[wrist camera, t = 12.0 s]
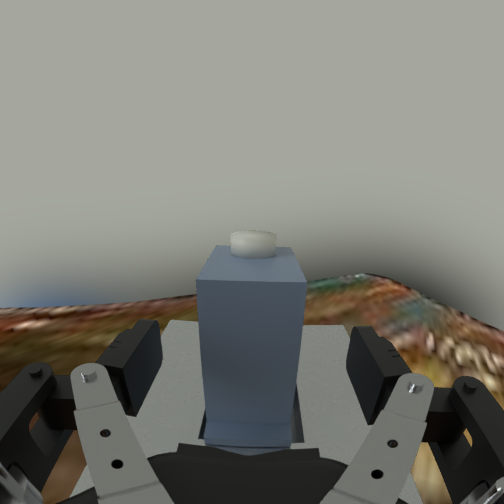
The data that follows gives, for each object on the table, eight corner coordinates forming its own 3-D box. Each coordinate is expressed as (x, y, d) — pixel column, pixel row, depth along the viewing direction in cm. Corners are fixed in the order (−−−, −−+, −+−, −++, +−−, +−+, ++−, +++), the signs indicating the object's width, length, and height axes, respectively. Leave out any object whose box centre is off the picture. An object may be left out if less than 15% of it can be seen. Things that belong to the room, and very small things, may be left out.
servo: (286, 468, 13) (314, 266, 10) (208, 466, 13) (188, 263, 10) (278, 372, 23) (287, 223, 20) (223, 370, 23) (221, 222, 20)
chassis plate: (406, 536, 7) (428, 517, 7) (86, 522, 8) (66, 502, 7) (339, 347, 27) (343, 325, 26) (173, 342, 27) (170, 319, 26)
